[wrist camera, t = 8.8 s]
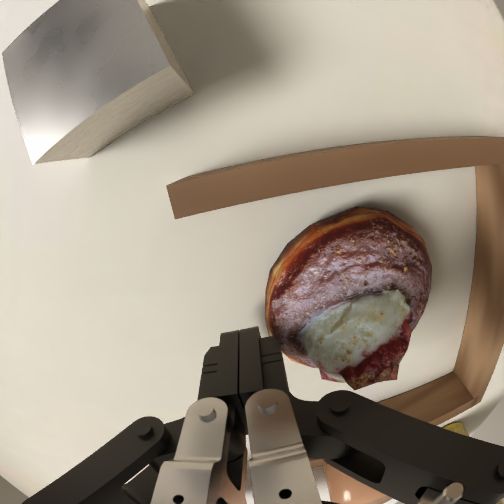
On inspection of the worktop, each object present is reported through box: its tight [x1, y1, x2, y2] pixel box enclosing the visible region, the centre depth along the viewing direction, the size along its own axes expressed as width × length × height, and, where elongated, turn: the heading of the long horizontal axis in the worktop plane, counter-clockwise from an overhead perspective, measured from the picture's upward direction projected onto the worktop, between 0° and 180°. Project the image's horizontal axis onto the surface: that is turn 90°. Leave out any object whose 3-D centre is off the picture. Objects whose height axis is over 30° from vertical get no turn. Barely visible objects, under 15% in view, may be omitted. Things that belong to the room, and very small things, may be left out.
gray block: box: [2, 0, 194, 164], centre depth 7 cm, size 5×5×4 cm
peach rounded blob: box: [323, 464, 392, 504], centre depth 15 cm, size 5×5×5 cm
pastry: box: [265, 206, 432, 390], centre depth 10 cm, size 8×8×5 cm
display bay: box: [166, 136, 504, 468], centre depth 12 cm, size 16×14×3 cm
